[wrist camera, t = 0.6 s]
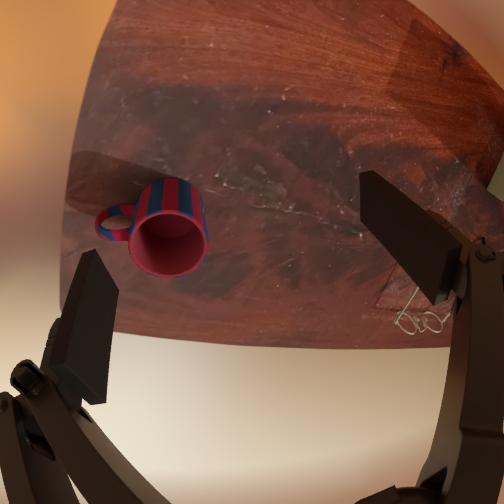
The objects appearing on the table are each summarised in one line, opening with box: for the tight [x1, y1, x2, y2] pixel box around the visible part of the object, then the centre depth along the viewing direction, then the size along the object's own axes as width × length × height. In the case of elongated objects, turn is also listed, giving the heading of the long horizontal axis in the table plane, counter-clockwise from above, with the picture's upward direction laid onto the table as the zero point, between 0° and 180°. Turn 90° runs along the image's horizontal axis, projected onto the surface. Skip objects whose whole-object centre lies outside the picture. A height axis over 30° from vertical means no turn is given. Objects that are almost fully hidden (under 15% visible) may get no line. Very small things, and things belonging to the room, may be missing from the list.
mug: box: [95, 178, 209, 278], centre depth 27 cm, size 7×10×7 cm
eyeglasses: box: [394, 237, 486, 335], centre depth 45 cm, size 16×19×5 cm
